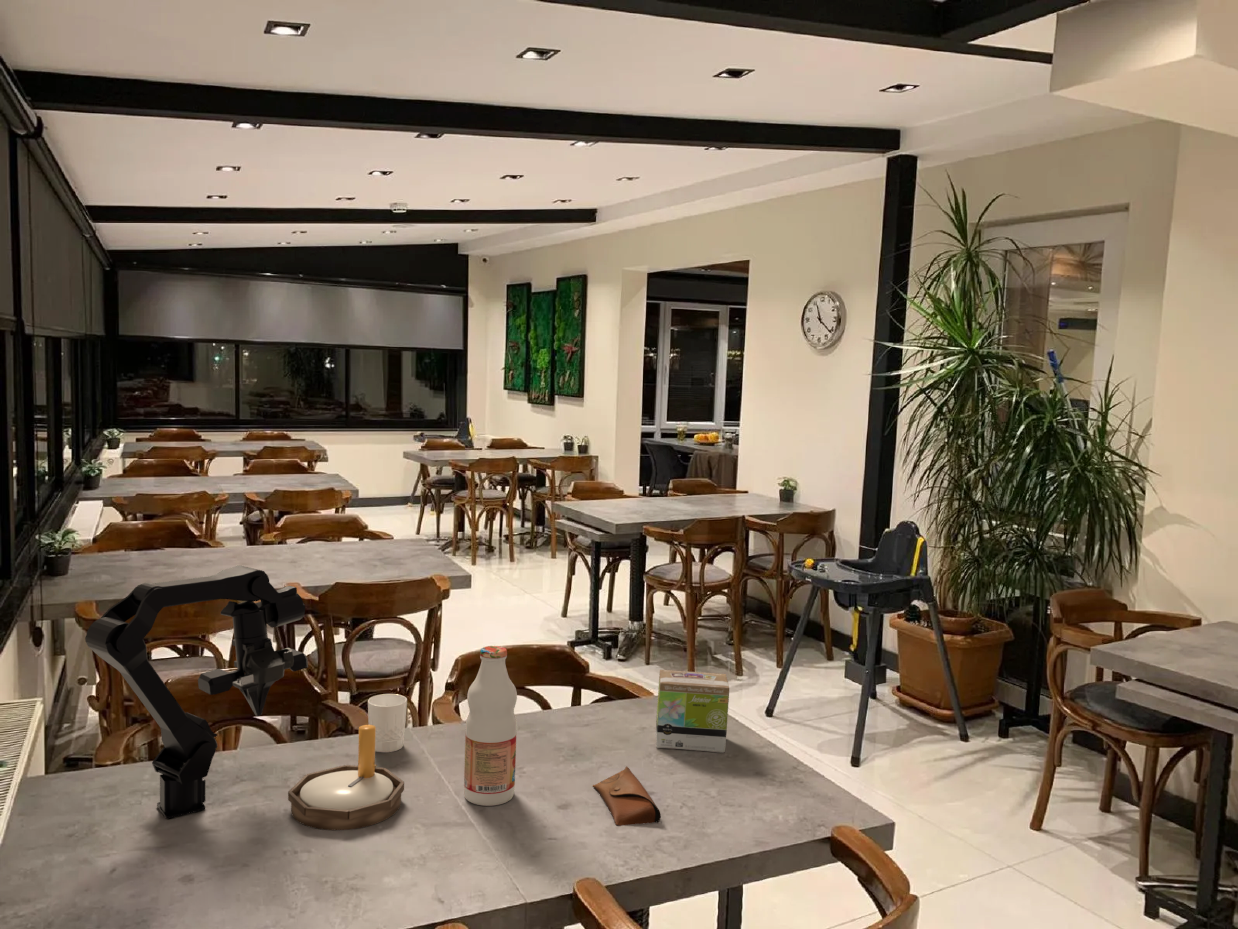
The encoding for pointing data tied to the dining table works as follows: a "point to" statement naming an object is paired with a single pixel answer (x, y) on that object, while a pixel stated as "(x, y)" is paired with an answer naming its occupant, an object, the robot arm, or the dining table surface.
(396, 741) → the white cup
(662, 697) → the tea box
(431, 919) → the dining table surface
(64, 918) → the dining table surface
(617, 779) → the sunglasses case
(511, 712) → the fruit juice
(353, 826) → the dial housing
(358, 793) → the dial
